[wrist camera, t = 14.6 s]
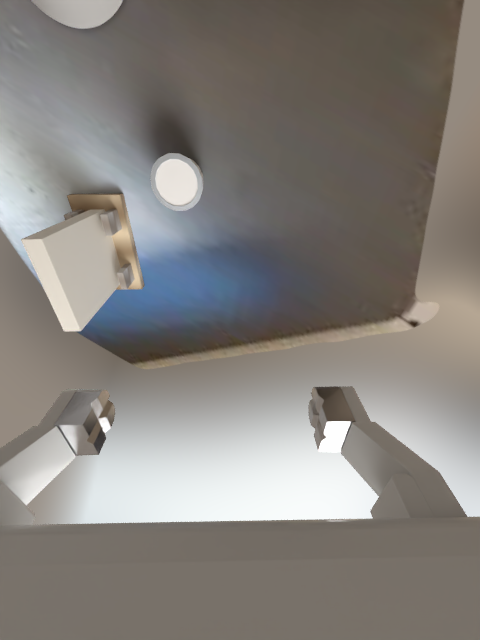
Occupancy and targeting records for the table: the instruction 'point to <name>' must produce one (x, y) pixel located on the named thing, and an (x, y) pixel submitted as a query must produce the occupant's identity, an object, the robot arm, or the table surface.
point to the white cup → (177, 181)
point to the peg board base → (113, 232)
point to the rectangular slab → (75, 267)
